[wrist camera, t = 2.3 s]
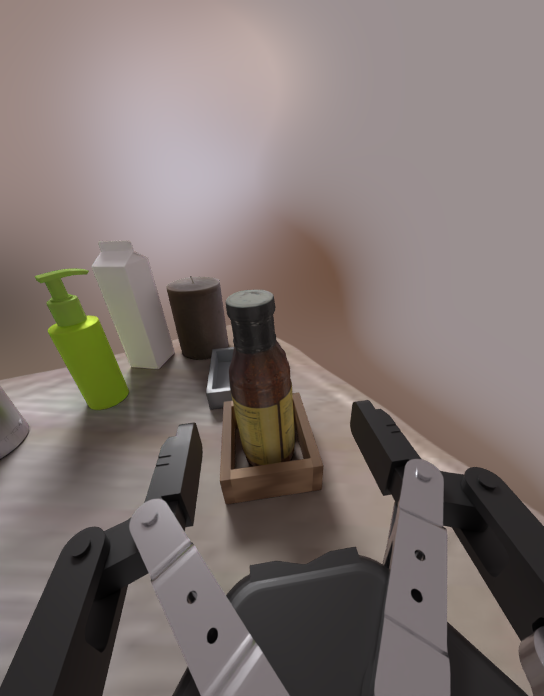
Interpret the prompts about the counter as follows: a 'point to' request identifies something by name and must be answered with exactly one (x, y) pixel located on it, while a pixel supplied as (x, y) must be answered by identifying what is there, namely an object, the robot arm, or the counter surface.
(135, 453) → the counter surface
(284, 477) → the collar
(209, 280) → the pillar candle
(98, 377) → the soap dispenser
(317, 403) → the counter surface
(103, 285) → the milk
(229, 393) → the tray
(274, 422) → the sauce bottle
